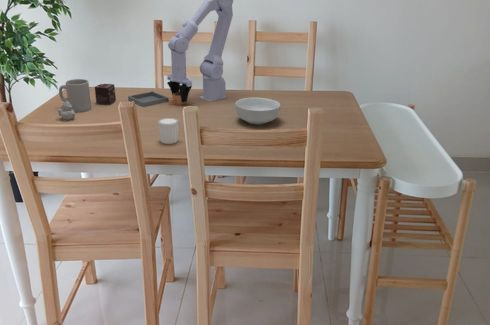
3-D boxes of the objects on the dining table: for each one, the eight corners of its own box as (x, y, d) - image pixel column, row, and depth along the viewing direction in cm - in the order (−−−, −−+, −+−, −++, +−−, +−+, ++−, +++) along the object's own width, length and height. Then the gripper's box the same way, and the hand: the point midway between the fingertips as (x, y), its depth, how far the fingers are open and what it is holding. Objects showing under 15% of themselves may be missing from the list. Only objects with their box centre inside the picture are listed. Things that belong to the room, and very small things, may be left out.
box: (109, 105, 194) (108, 87, 191) (96, 104, 195) (94, 86, 192) (116, 101, 199) (114, 84, 196) (103, 100, 200) (101, 83, 197)
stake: (182, 99, 203) (182, 88, 201) (193, 104, 198) (193, 92, 196) (166, 103, 198) (166, 91, 196) (177, 107, 193) (177, 95, 191)
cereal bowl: (265, 132, 169) (265, 113, 167) (226, 123, 177) (226, 104, 174) (287, 119, 183) (288, 101, 180) (250, 111, 191) (250, 94, 188)
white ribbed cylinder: (159, 137, 163) (158, 117, 160) (179, 136, 163) (179, 117, 160) (157, 144, 156) (156, 124, 153) (179, 144, 157) (178, 124, 154)
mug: (94, 106, 192) (91, 79, 188) (86, 112, 185) (83, 85, 180) (66, 104, 193) (62, 78, 189) (56, 111, 186) (52, 83, 181)
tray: (153, 96, 207) (152, 91, 206) (168, 102, 199) (168, 97, 198) (128, 101, 199) (128, 96, 198) (143, 108, 191) (143, 102, 190)
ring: (181, 99, 201) (181, 91, 200) (189, 102, 198) (189, 94, 196) (166, 103, 196) (165, 94, 195) (173, 106, 193) (173, 97, 191)
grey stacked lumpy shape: (71, 122, 174) (68, 101, 171) (55, 120, 175) (51, 99, 172) (78, 117, 179) (76, 97, 176) (62, 116, 180) (60, 95, 177)
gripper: (160, 65, 194) (162, 97, 200) (181, 72, 184) (182, 105, 190) (174, 63, 198) (176, 94, 204) (195, 69, 189) (196, 102, 194)
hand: (180, 100), depth 197 cm, fingers closed on ring, 5 cm apart
